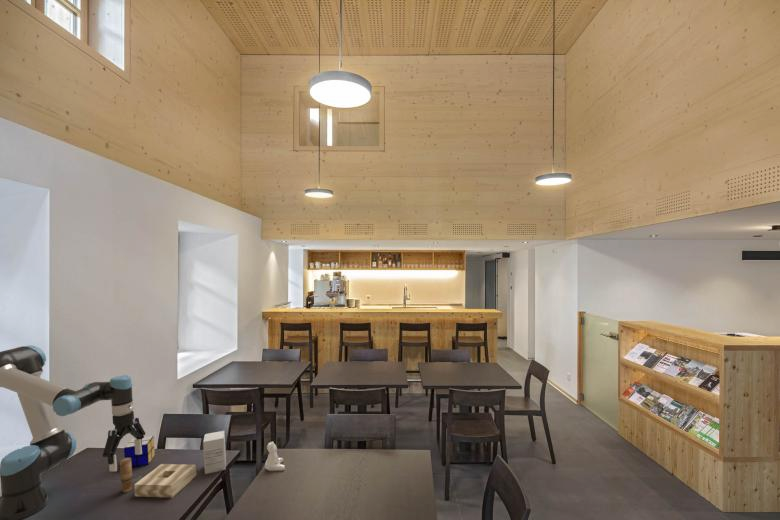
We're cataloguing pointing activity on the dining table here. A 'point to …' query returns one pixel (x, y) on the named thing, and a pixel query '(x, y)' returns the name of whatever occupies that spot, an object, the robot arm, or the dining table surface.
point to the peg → (126, 475)
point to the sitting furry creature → (273, 459)
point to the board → (165, 480)
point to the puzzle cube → (147, 451)
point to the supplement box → (214, 452)
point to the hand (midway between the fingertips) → (126, 462)
